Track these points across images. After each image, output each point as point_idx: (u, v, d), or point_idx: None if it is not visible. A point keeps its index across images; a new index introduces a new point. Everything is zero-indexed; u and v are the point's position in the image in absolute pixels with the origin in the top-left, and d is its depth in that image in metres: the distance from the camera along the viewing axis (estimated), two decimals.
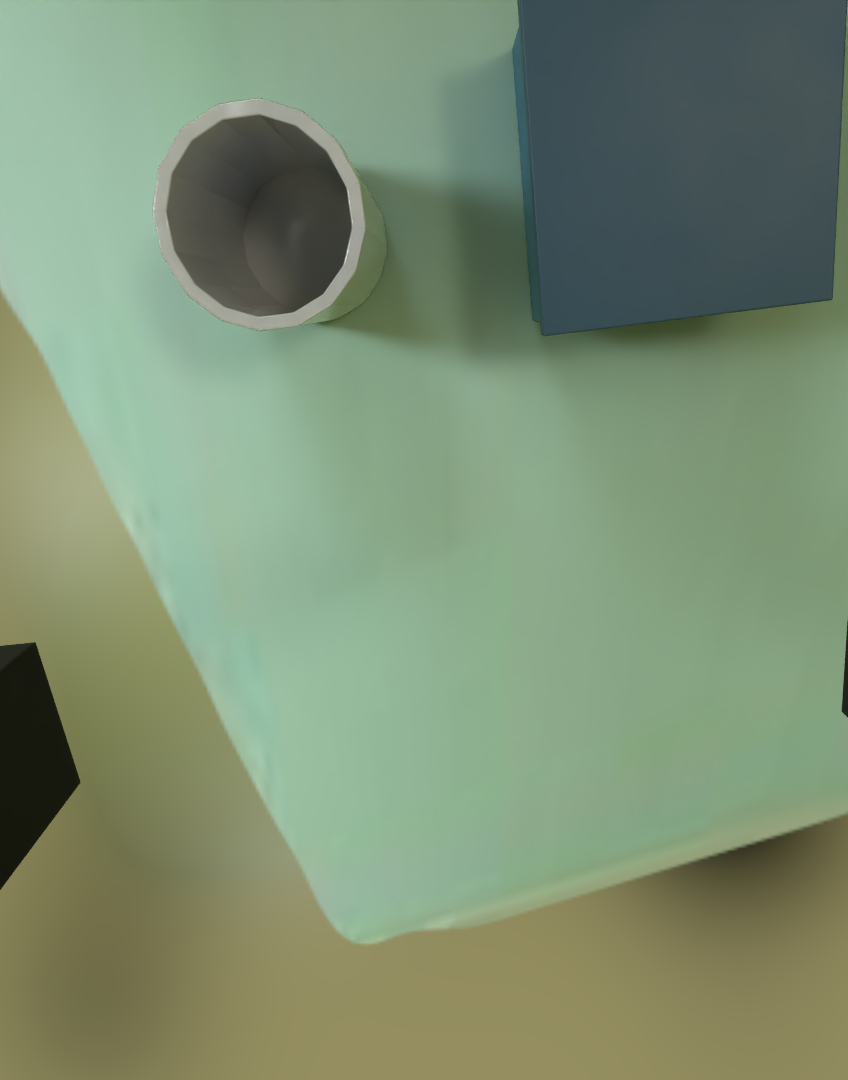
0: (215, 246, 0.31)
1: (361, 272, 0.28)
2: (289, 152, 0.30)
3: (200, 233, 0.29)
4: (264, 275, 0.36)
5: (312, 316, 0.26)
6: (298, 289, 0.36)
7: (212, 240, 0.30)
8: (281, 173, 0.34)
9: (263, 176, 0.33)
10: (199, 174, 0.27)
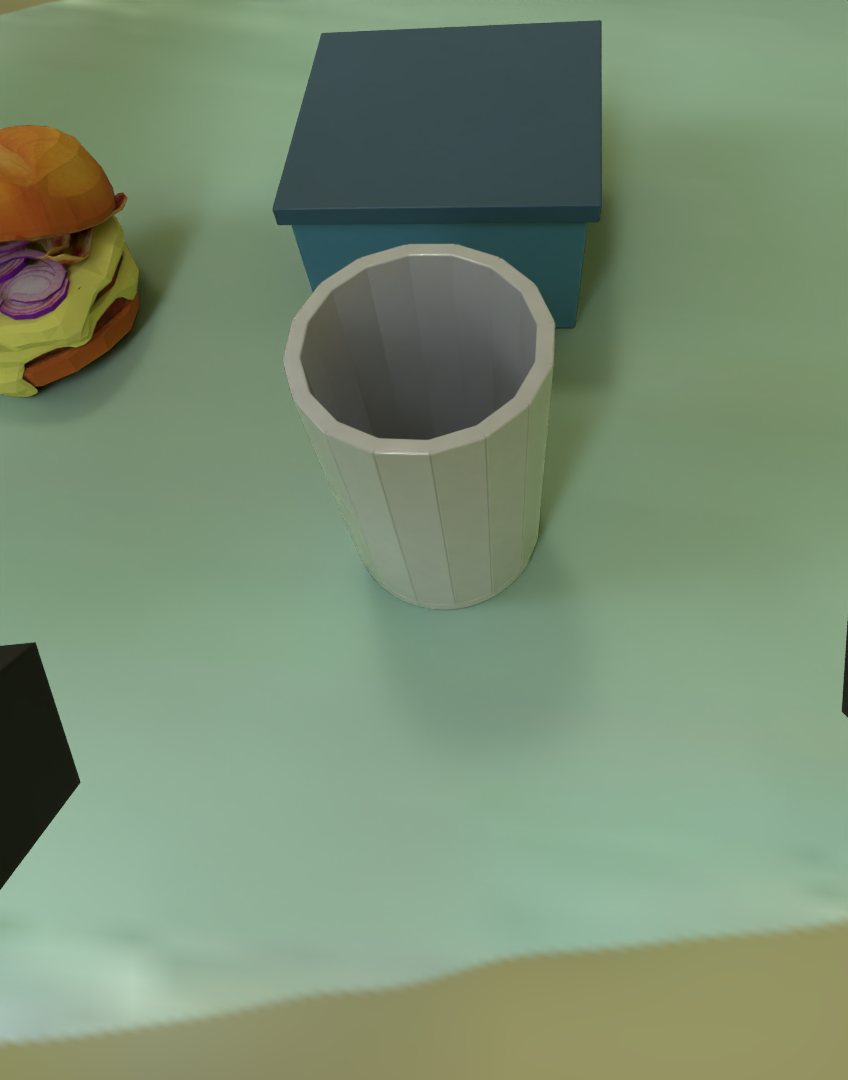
0: None
1: None
2: None
3: None
4: None
5: (545, 306, 0.20)
6: None
7: None
8: None
9: None
10: None
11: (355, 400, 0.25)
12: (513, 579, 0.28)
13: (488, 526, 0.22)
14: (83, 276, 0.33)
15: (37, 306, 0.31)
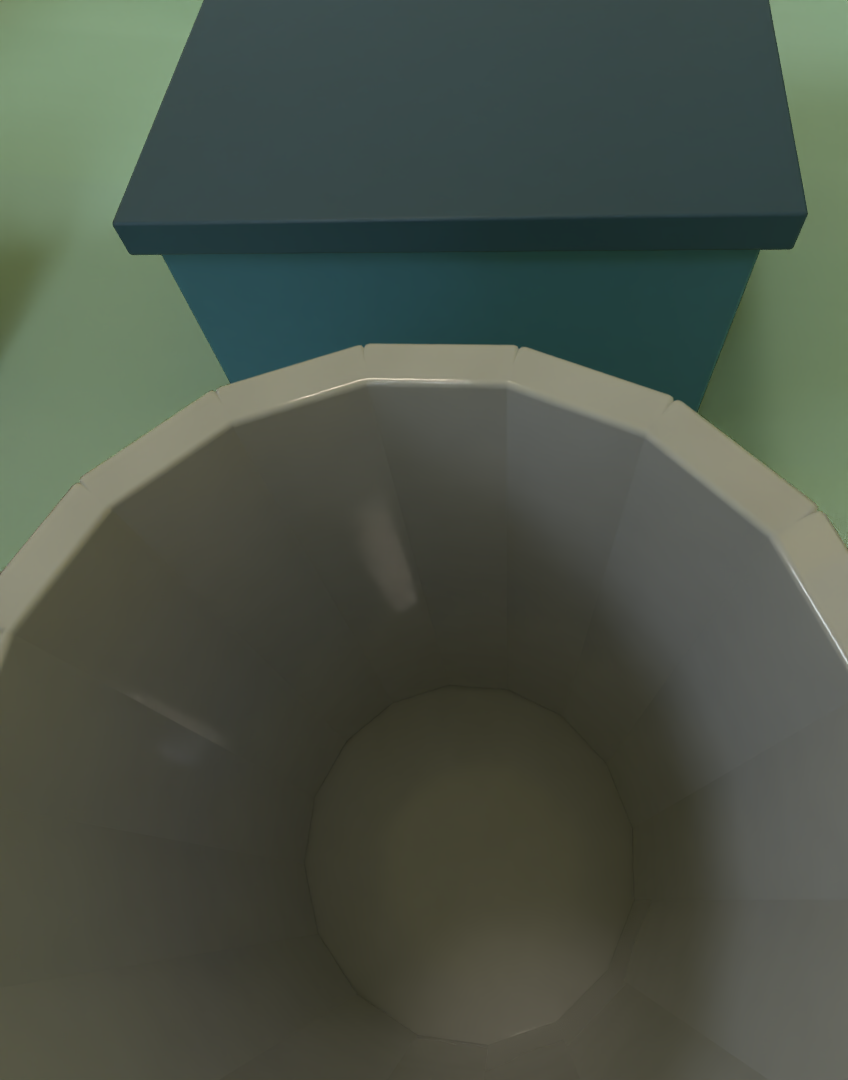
0: None
1: None
2: (253, 783, 0.11)
3: None
4: (523, 1002, 0.13)
5: None
6: (572, 910, 0.14)
7: None
8: (305, 873, 0.14)
9: (294, 909, 0.13)
10: (162, 1056, 0.06)
11: (256, 688, 0.10)
12: None
13: None
14: None
15: None
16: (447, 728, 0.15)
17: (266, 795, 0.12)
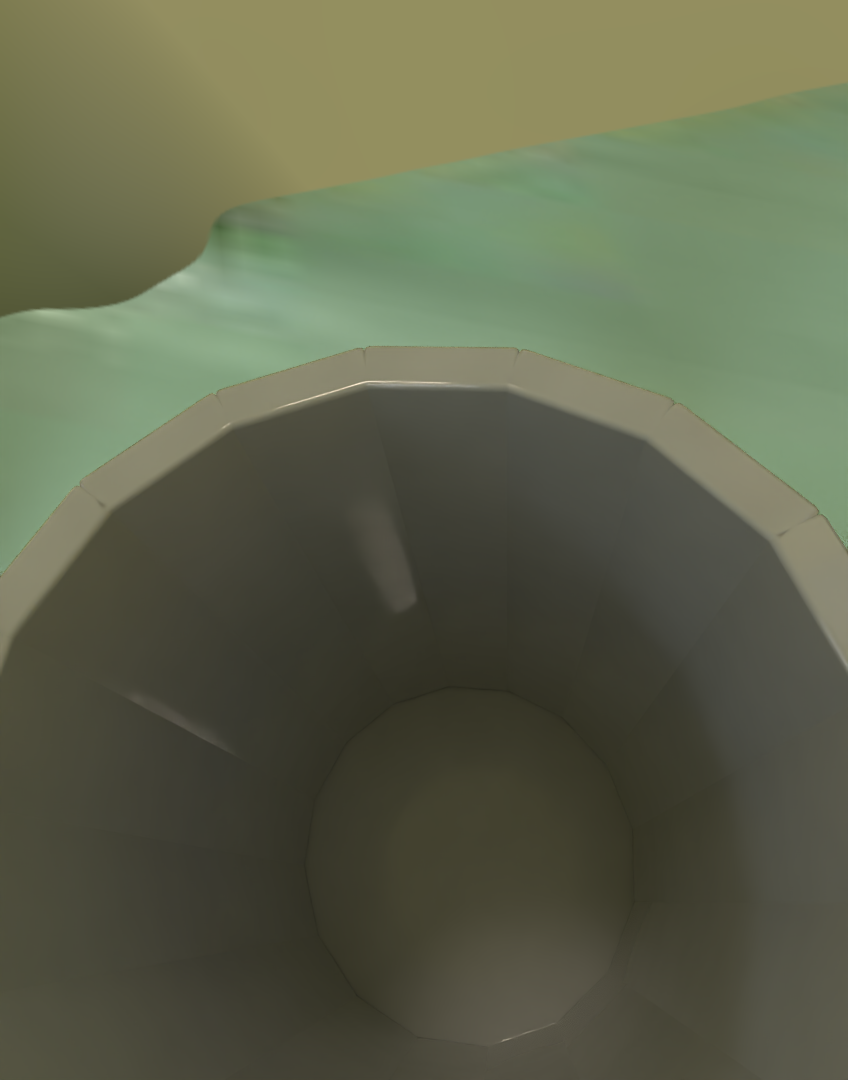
0: None
1: None
2: (253, 785, 0.11)
3: None
4: (523, 1004, 0.13)
5: None
6: (572, 912, 0.14)
7: None
8: (305, 874, 0.14)
9: (294, 911, 0.13)
10: (162, 1059, 0.06)
11: (256, 690, 0.10)
12: None
13: None
14: None
15: None
16: (447, 729, 0.15)
17: (266, 797, 0.12)
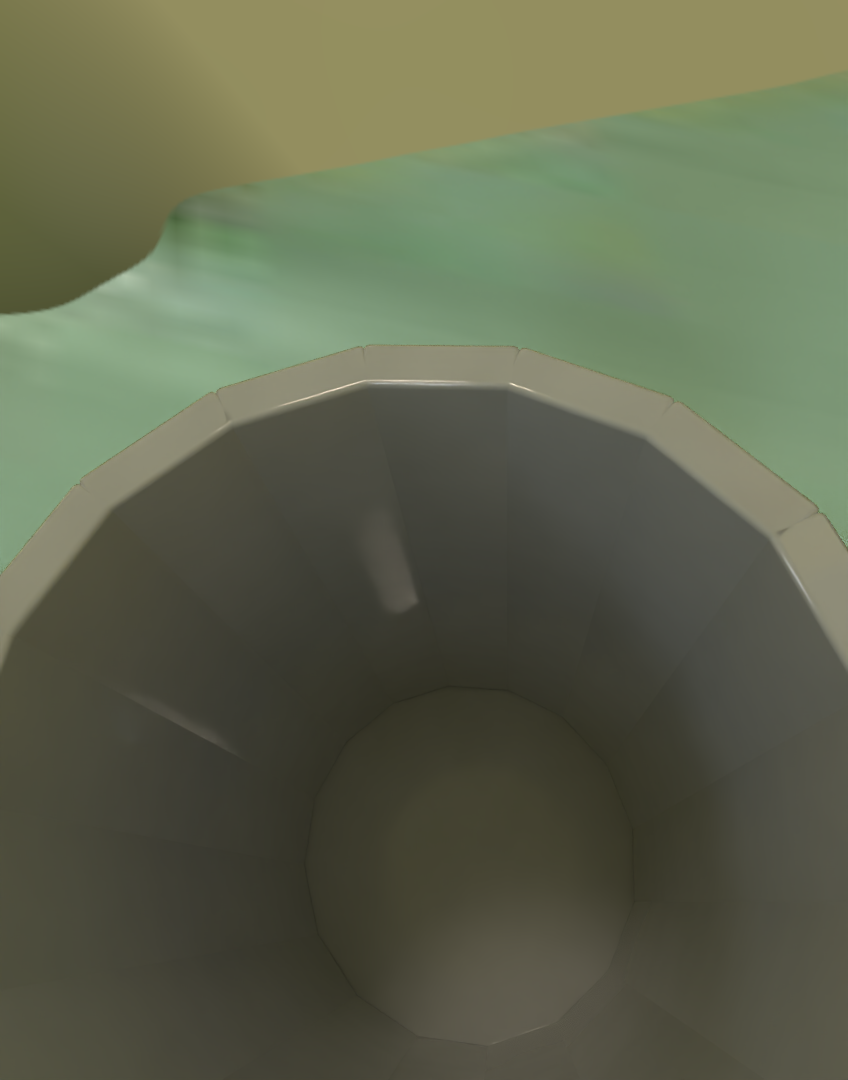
0: None
1: None
2: (253, 784, 0.11)
3: None
4: (523, 1003, 0.13)
5: None
6: (572, 911, 0.14)
7: None
8: (305, 874, 0.14)
9: (294, 910, 0.13)
10: (162, 1058, 0.06)
11: (256, 689, 0.10)
12: None
13: None
14: None
15: None
16: (447, 729, 0.15)
17: (266, 796, 0.12)
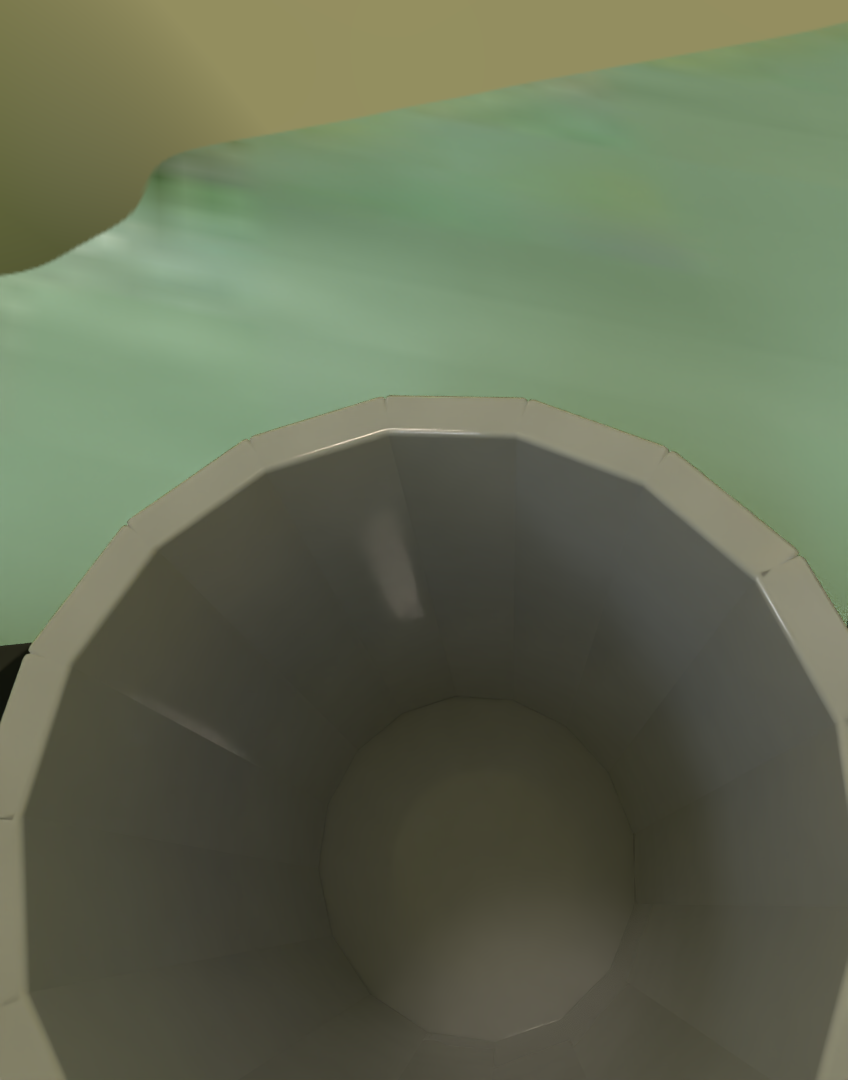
0: None
1: None
2: (273, 792, 0.12)
3: None
4: (529, 1001, 0.14)
5: None
6: (576, 913, 0.14)
7: None
8: (319, 877, 0.15)
9: (310, 912, 0.14)
10: (203, 1048, 0.07)
11: (277, 704, 0.11)
12: None
13: None
14: None
15: None
16: (455, 738, 0.16)
17: (284, 804, 0.13)
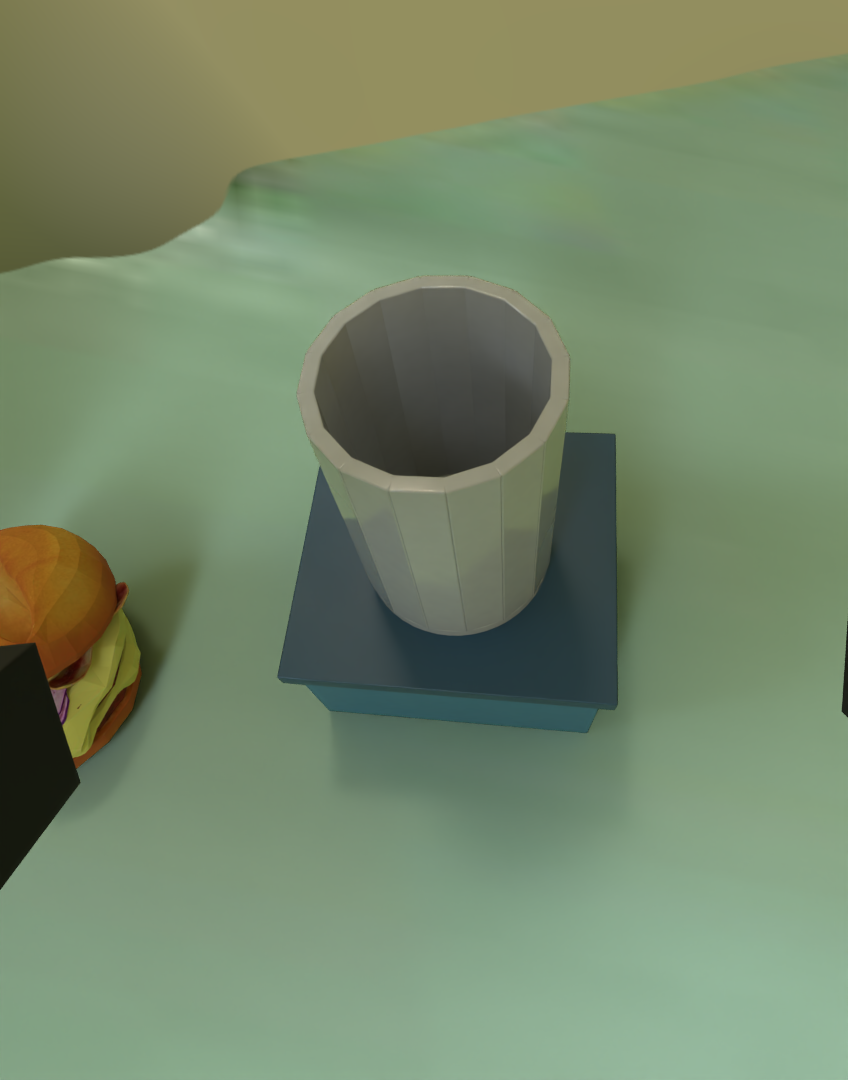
0: None
1: None
2: None
3: None
4: None
5: (560, 340, 0.20)
6: None
7: None
8: None
9: None
10: None
11: (367, 428, 0.25)
12: (524, 605, 0.28)
13: (501, 557, 0.22)
14: (83, 690, 0.32)
15: None
16: None
17: None
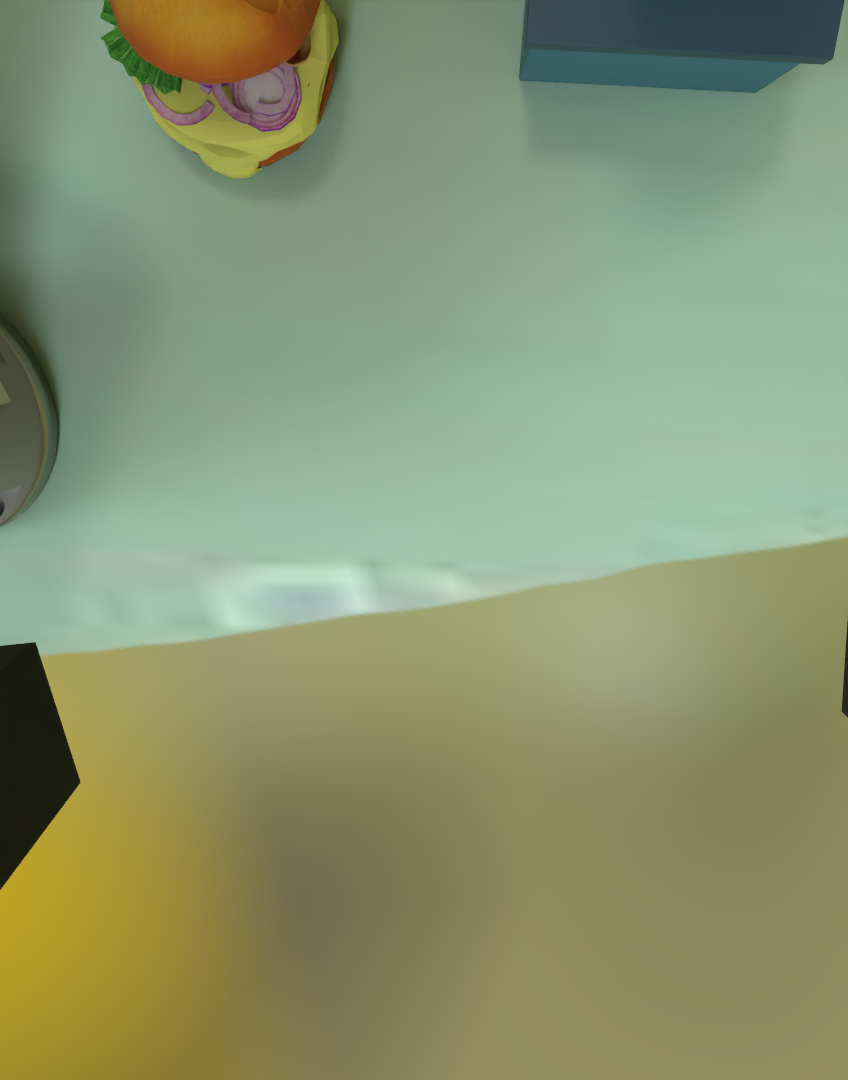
0: None
1: None
2: None
3: None
4: None
5: None
6: None
7: None
8: None
9: None
10: None
11: None
12: None
13: None
14: (308, 67, 0.33)
15: (280, 117, 0.34)
16: None
17: None
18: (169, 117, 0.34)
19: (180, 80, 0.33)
